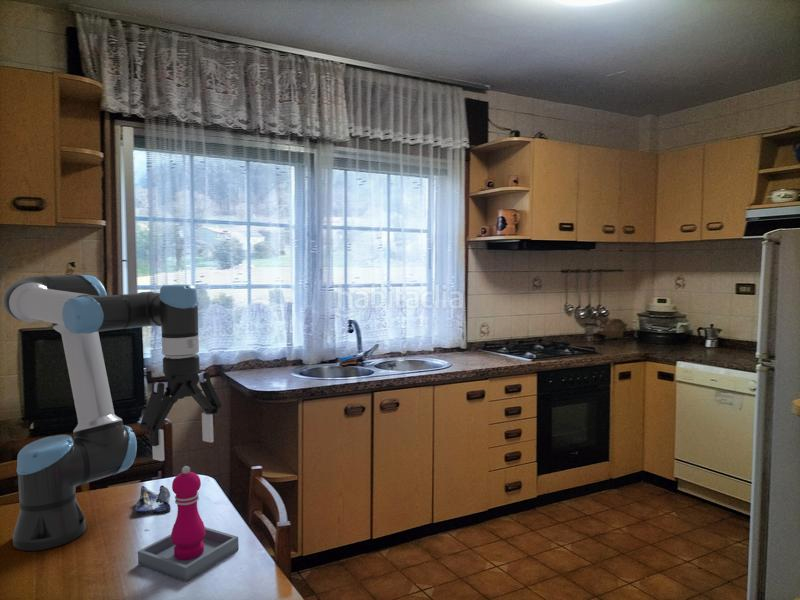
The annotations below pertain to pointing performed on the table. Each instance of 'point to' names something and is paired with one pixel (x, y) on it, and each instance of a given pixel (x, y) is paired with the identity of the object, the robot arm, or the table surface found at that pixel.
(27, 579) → the table surface
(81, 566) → the table surface
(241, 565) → the table surface
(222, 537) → the tray
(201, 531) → the pepper mill
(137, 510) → the snack package
